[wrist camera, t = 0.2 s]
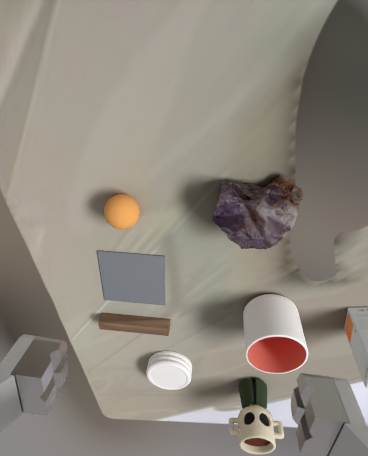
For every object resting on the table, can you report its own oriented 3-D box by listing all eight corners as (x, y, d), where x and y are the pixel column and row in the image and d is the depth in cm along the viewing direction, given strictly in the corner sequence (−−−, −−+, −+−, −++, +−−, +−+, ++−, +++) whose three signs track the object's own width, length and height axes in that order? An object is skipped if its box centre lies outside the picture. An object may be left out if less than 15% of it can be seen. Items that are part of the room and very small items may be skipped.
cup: (299, 290, 59) (311, 335, 51) (294, 328, 64) (305, 375, 56) (242, 290, 60) (245, 334, 52) (242, 327, 66) (245, 373, 57)
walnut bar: (102, 312, 68) (98, 322, 65) (170, 319, 66) (168, 329, 64) (103, 319, 69) (99, 329, 66) (170, 325, 68) (168, 335, 65)
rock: (224, 164, 49) (217, 222, 54) (213, 186, 42) (206, 251, 47) (305, 175, 47) (290, 235, 52) (309, 201, 40) (291, 267, 45)
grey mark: (97, 250, 59) (97, 251, 59) (164, 255, 58) (164, 256, 58) (105, 299, 65) (104, 299, 65) (164, 304, 64) (164, 305, 64)
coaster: (187, 348, 71) (186, 362, 68) (195, 376, 76) (194, 390, 74) (143, 350, 73) (140, 364, 70) (154, 377, 78) (151, 391, 75)
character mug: (278, 376, 73) (288, 439, 62) (275, 394, 77) (283, 457, 66) (228, 373, 74) (229, 434, 63) (228, 391, 78) (228, 452, 67)
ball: (108, 187, 52) (97, 203, 47) (142, 189, 51) (134, 206, 47) (111, 216, 55) (101, 234, 50) (143, 218, 54) (136, 237, 50)
